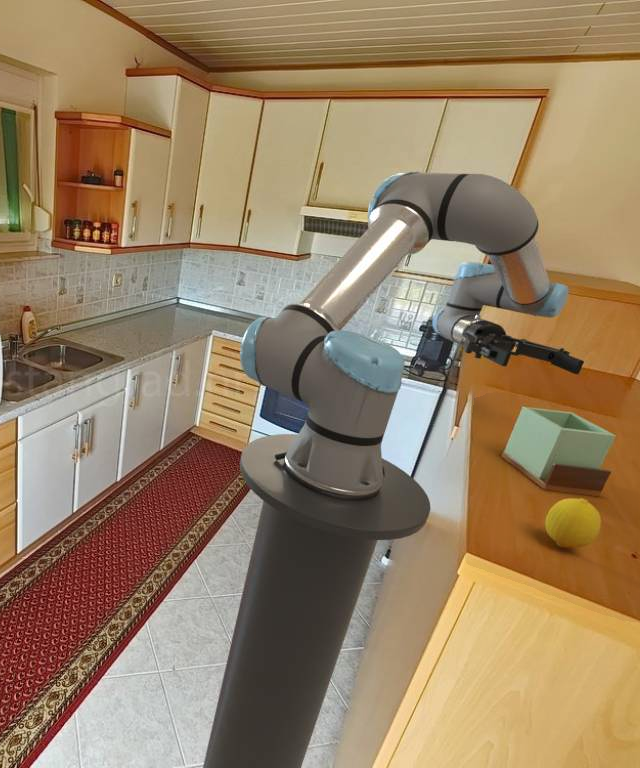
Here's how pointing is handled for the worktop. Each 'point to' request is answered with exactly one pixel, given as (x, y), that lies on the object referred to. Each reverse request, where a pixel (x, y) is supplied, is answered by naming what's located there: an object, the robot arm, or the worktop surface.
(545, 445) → the container
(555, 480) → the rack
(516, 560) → the worktop surface
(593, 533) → the lemon
